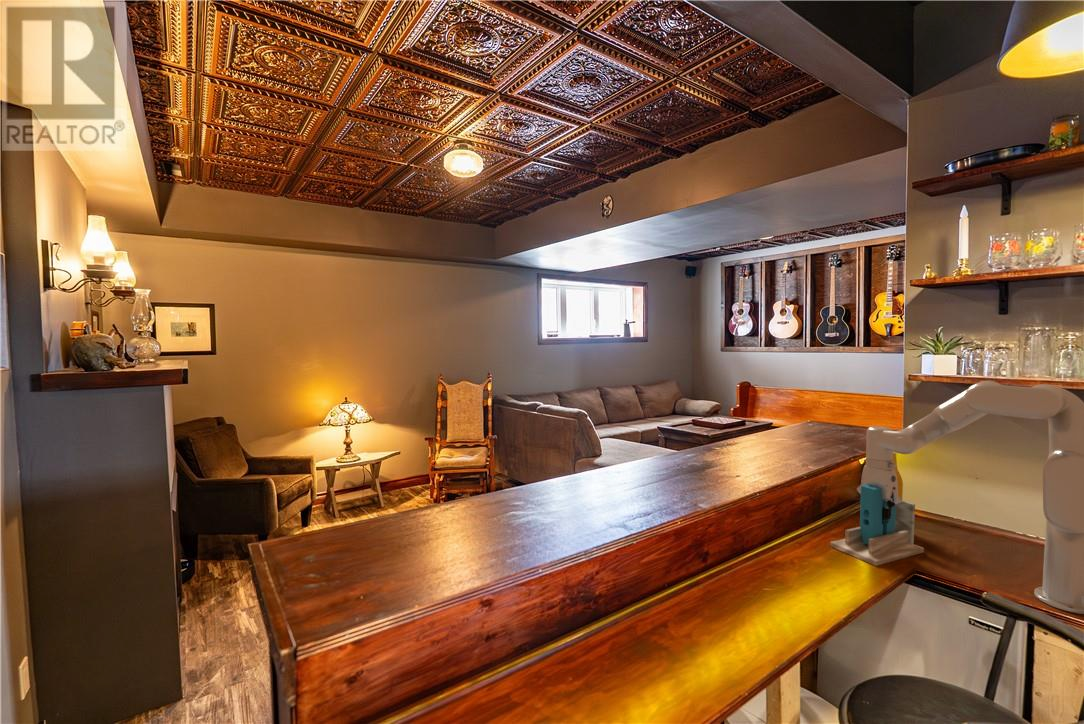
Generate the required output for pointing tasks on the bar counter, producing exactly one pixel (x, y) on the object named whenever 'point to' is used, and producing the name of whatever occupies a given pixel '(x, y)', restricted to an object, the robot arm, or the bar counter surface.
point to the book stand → (884, 540)
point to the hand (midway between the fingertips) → (877, 515)
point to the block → (874, 514)
